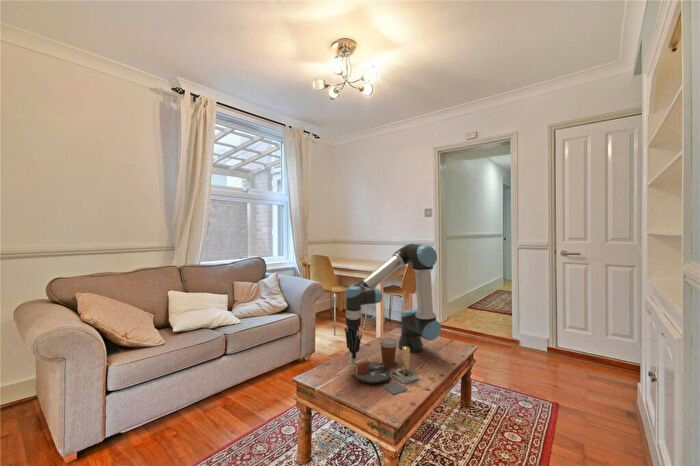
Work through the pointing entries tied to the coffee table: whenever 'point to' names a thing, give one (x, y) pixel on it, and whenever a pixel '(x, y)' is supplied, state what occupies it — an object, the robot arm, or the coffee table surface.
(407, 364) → the yellow tall cylinder
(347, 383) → the coffee table surface
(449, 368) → the coffee table surface
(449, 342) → the coffee table surface
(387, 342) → the disposable coffee cup
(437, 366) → the coffee table surface
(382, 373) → the compass
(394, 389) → the rest pad
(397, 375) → the grey square frame
